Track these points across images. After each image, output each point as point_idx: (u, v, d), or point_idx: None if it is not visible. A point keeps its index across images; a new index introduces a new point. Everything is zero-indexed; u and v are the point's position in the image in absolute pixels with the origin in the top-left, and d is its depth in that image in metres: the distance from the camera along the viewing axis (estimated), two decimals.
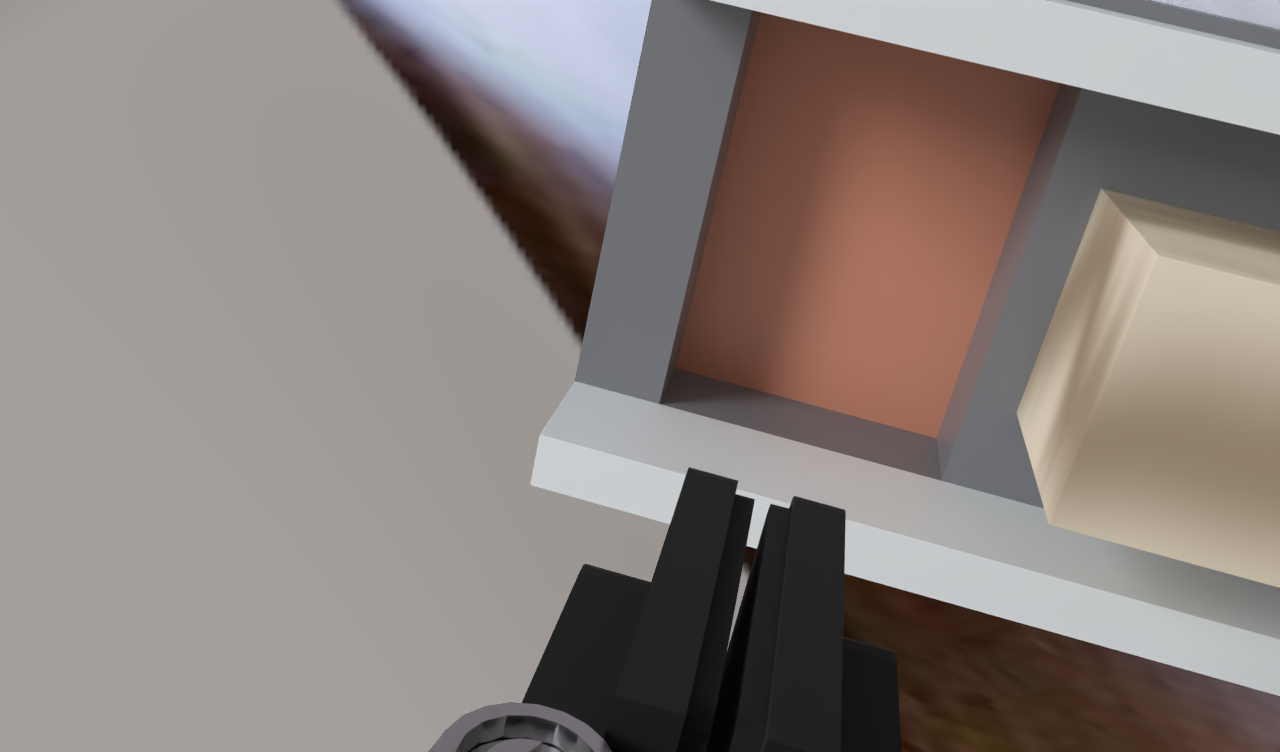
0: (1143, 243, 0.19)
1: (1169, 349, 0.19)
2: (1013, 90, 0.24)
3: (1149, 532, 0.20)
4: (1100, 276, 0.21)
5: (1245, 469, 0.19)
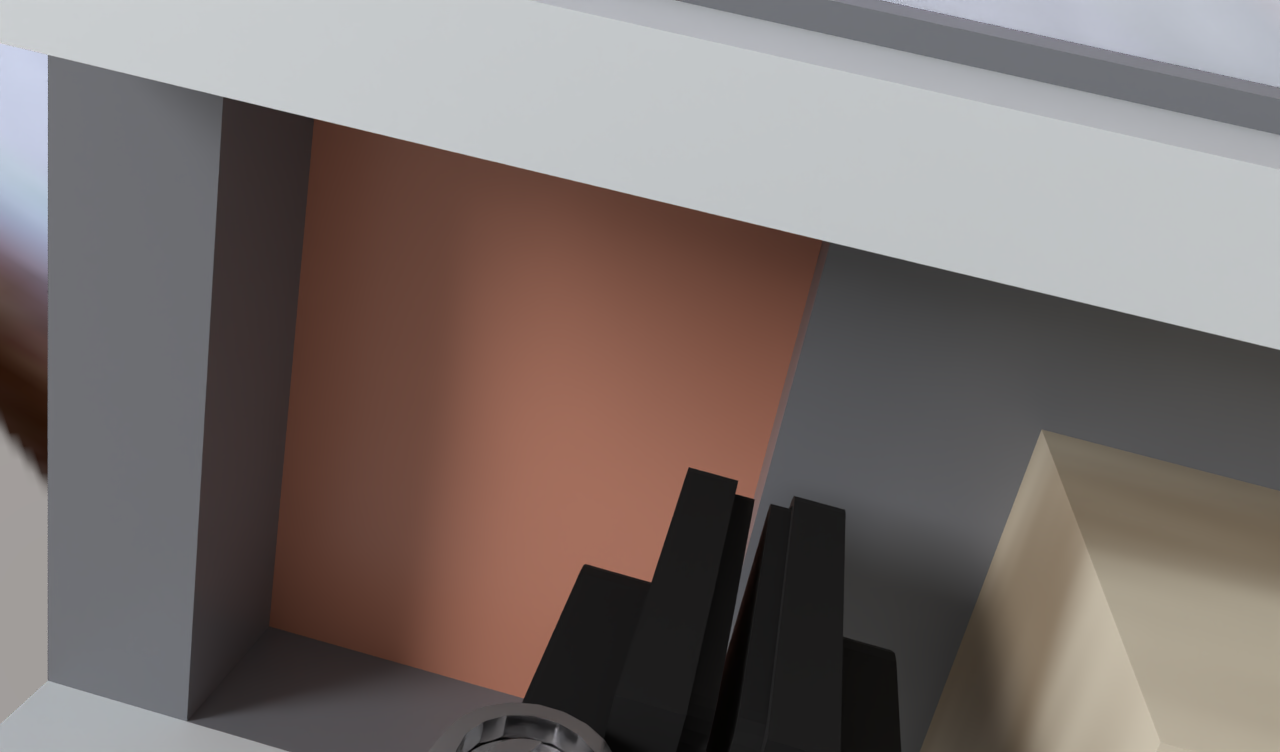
0: (1122, 656, 0.08)
1: None
2: None
3: None
4: (1035, 649, 0.10)
5: None
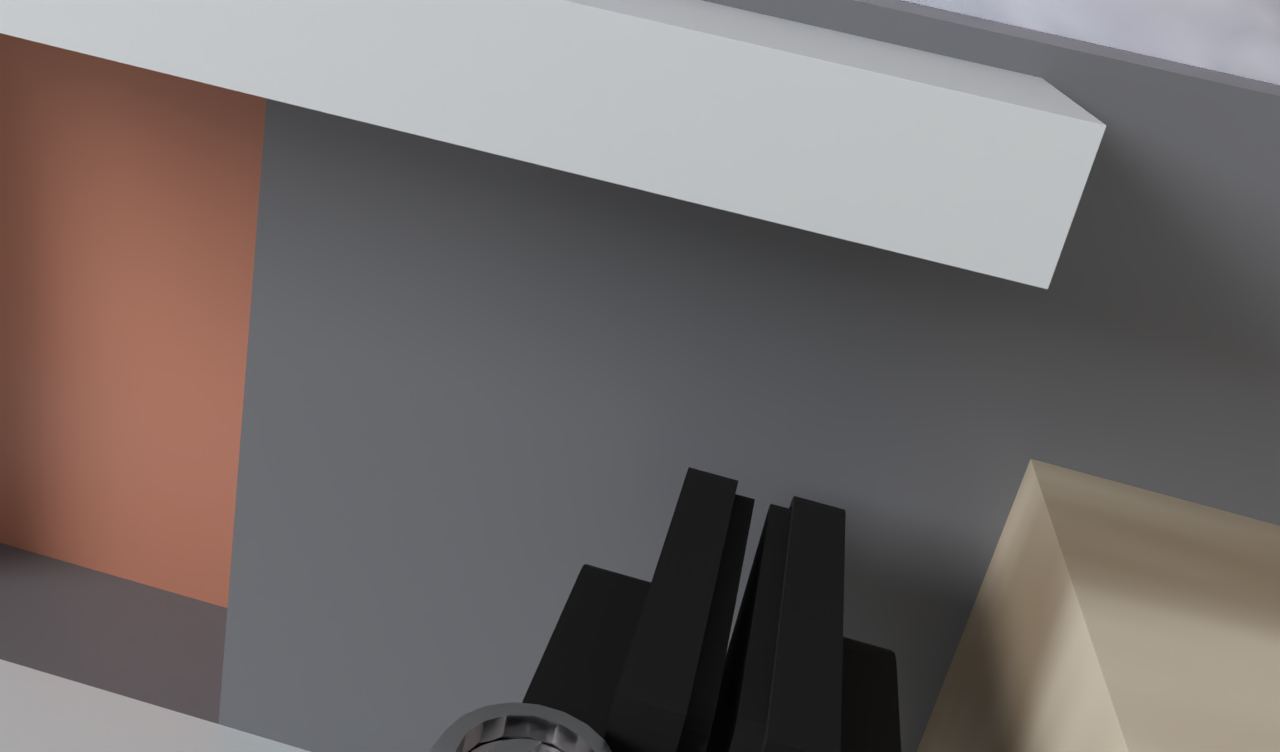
0: (1103, 695, 0.08)
1: None
2: None
3: None
4: (1021, 680, 0.10)
5: None
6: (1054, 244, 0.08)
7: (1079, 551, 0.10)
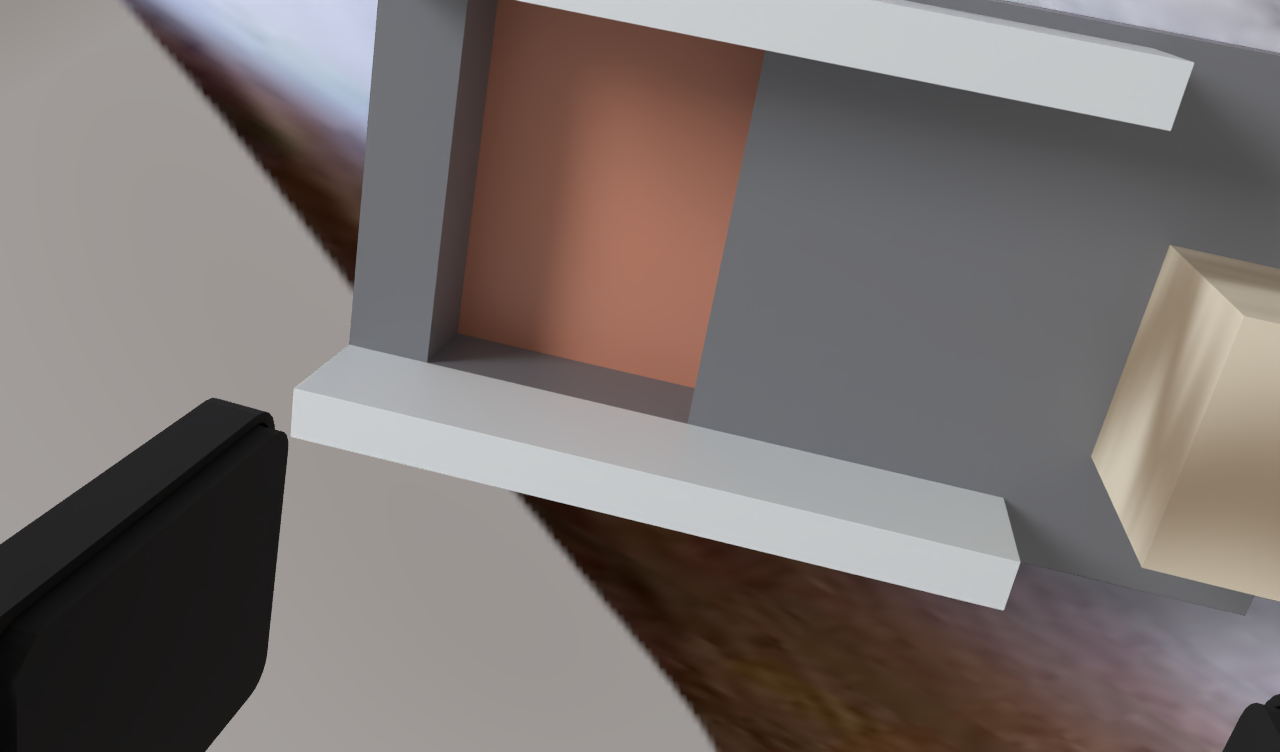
0: (1225, 302, 0.20)
1: (1255, 402, 0.20)
2: (730, 58, 0.26)
3: (1237, 573, 0.21)
4: (1178, 330, 0.22)
5: None
6: (1173, 112, 0.20)
7: (1203, 270, 0.22)
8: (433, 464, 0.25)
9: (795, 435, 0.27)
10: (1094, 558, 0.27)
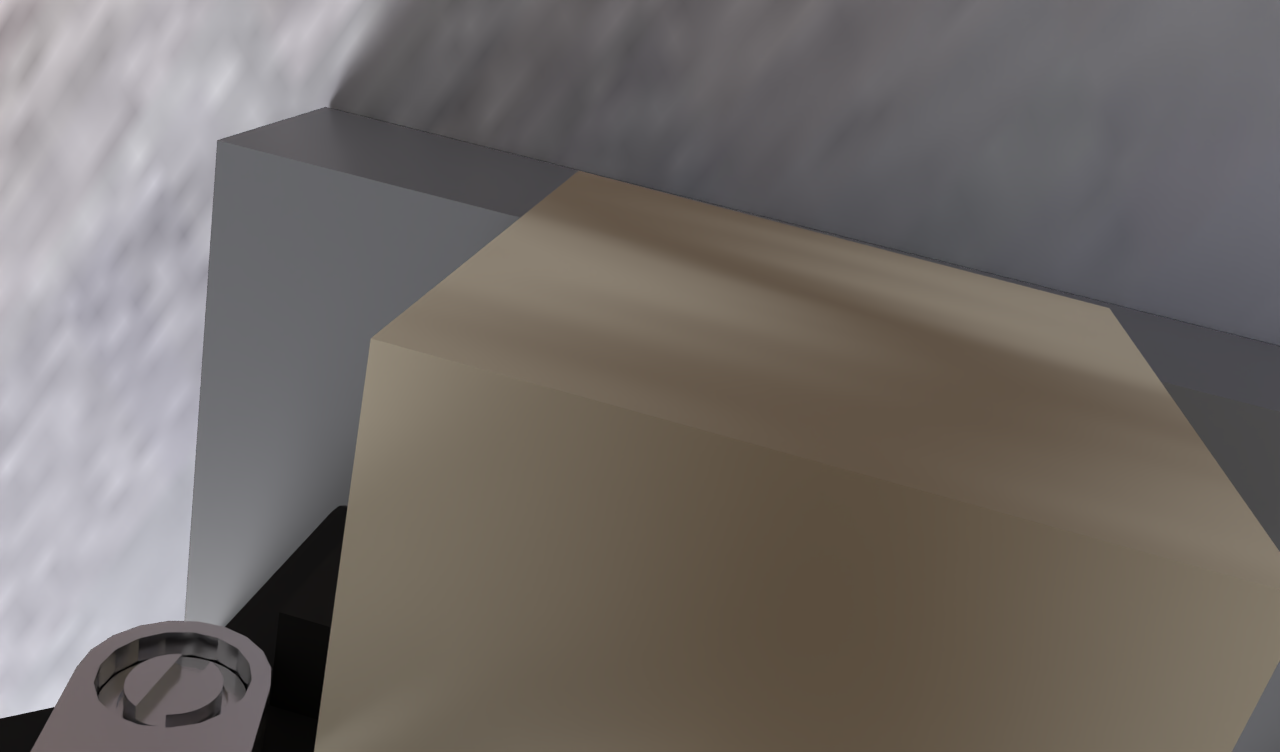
0: None
1: None
2: None
3: None
4: None
5: None
6: None
7: None
8: None
9: None
10: None
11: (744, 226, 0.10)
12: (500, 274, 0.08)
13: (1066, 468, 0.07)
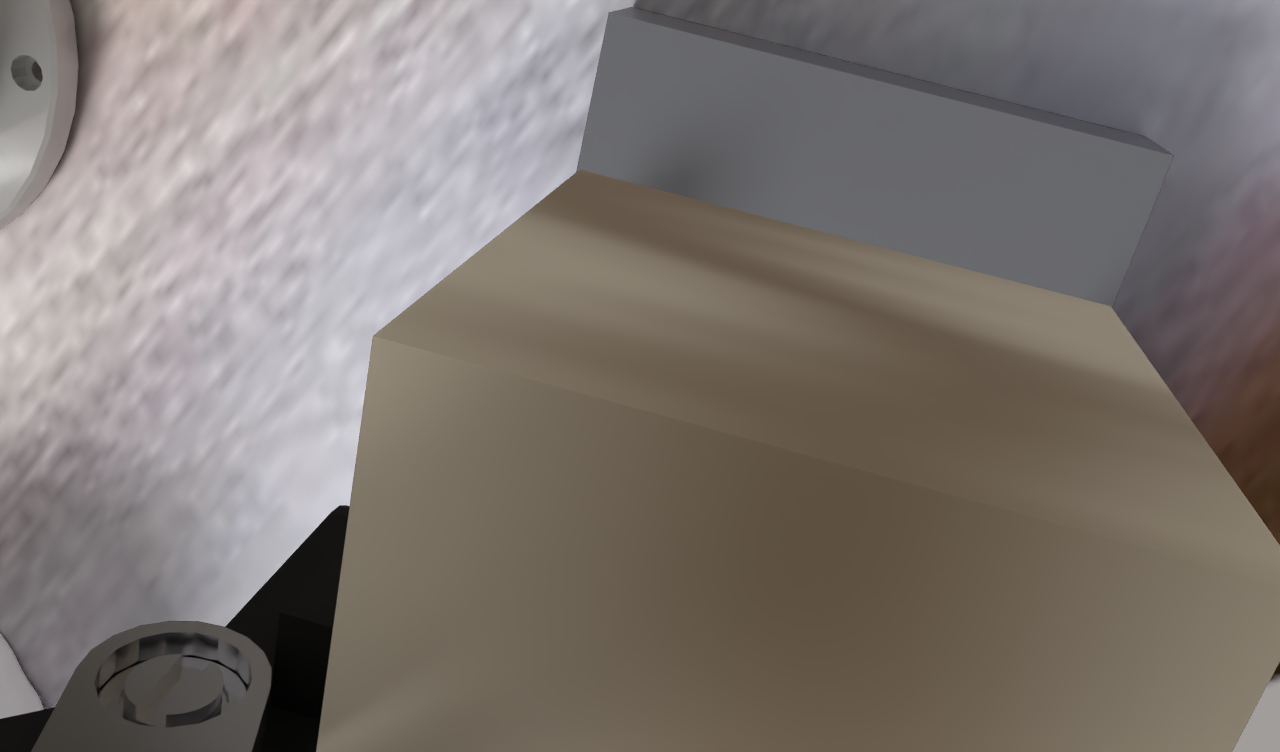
0: None
1: None
2: None
3: None
4: None
5: None
6: None
7: None
8: None
9: None
10: None
11: (745, 225, 0.10)
12: (500, 272, 0.08)
13: (1067, 466, 0.07)
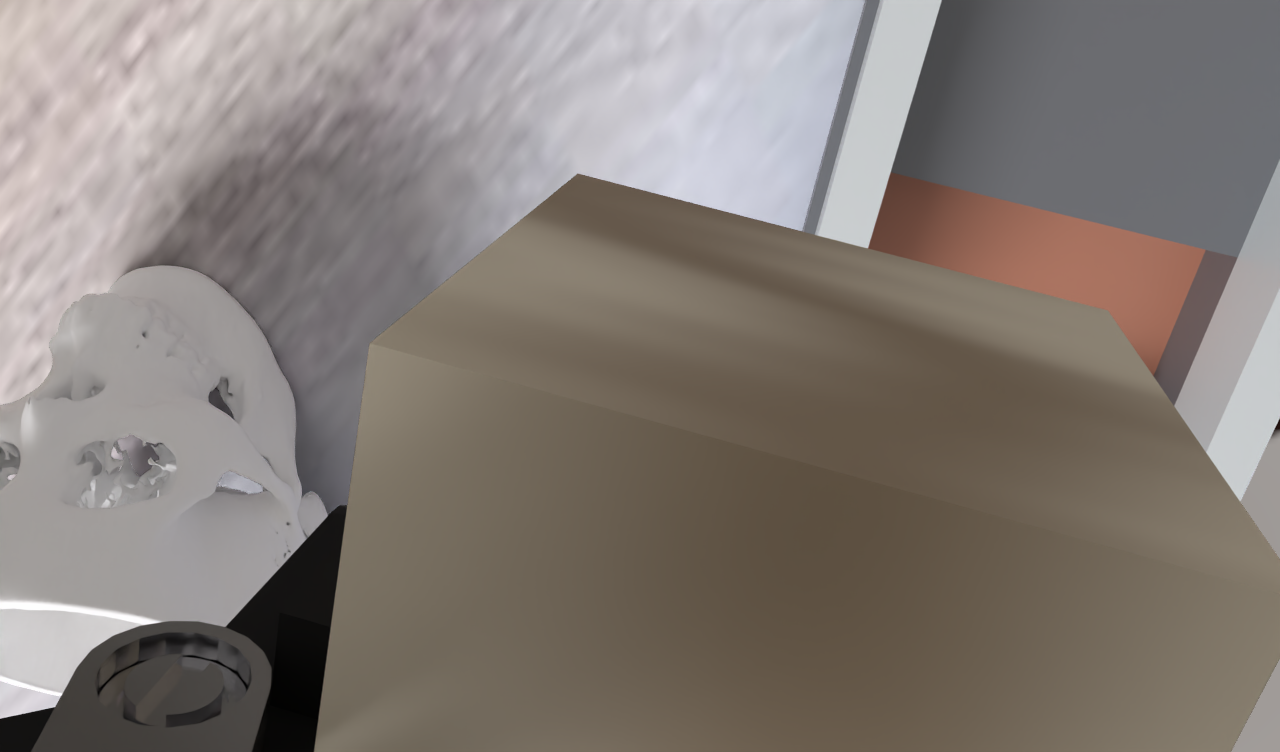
0: None
1: None
2: (900, 192, 0.32)
3: None
4: None
5: None
6: None
7: None
8: None
9: (1266, 154, 0.28)
10: None
11: (743, 229, 0.10)
12: (499, 279, 0.08)
13: (1064, 473, 0.07)
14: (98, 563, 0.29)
